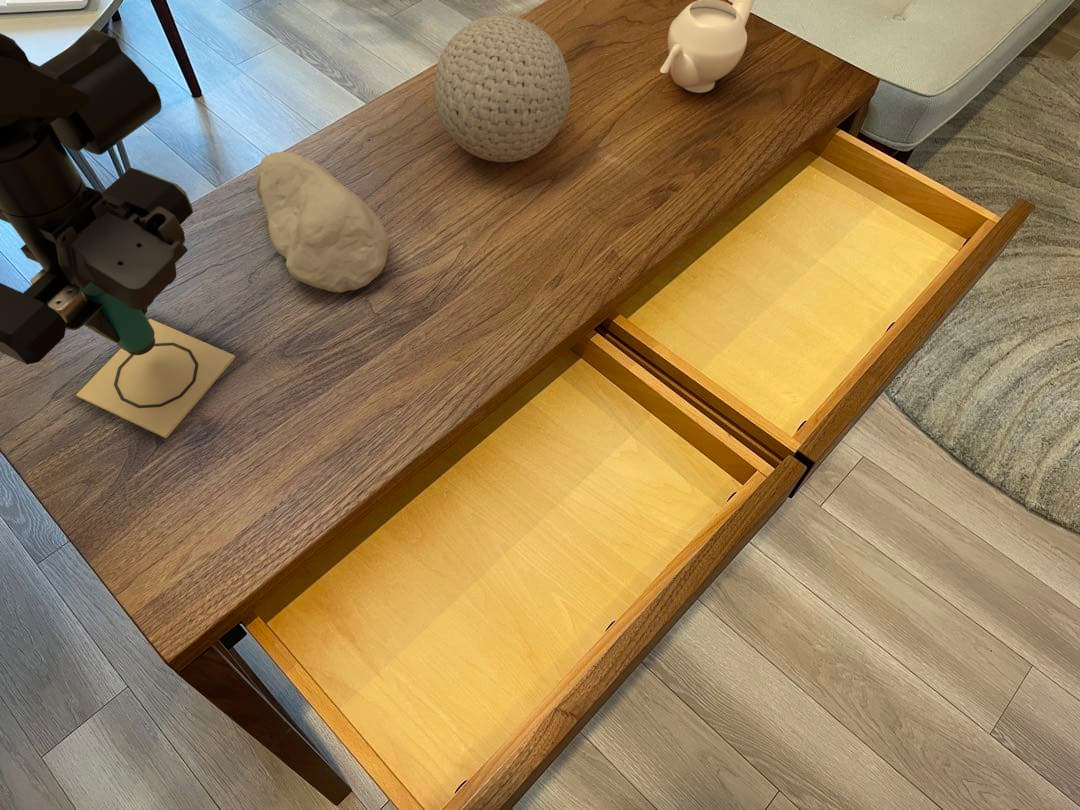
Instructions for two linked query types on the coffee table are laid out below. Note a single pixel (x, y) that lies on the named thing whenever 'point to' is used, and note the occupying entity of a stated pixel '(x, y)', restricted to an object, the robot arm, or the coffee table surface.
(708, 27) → the teapot
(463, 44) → the decorative ball
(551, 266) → the coffee table surface
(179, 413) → the sketch card
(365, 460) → the coffee table surface
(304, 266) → the decorative stone
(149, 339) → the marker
